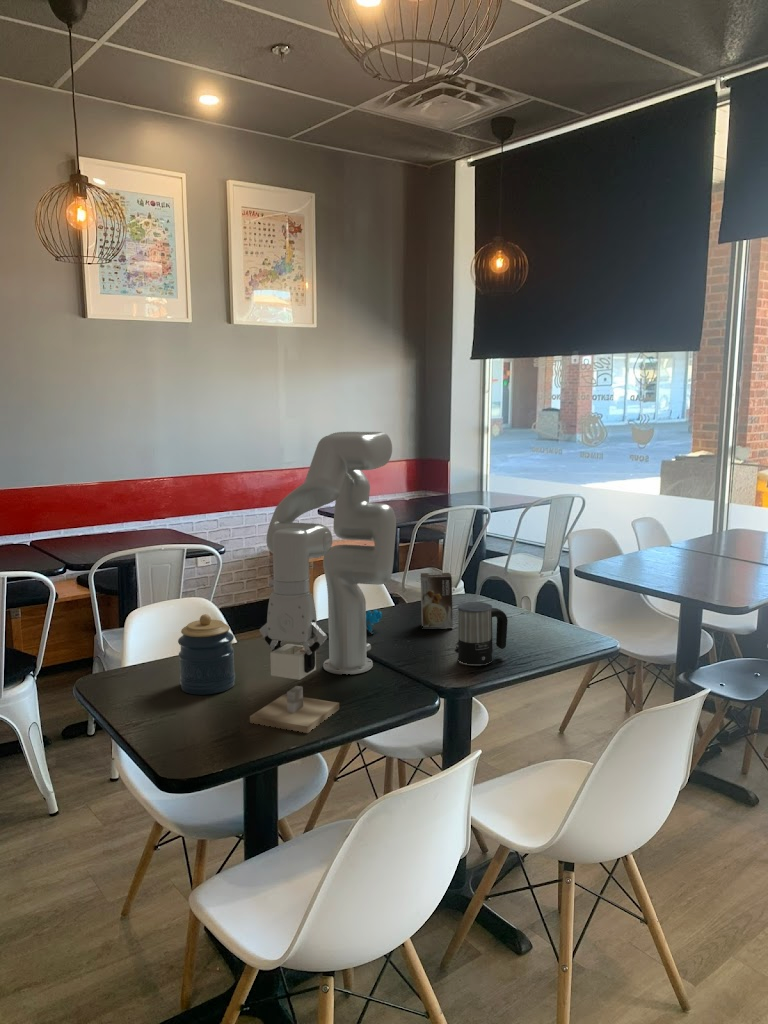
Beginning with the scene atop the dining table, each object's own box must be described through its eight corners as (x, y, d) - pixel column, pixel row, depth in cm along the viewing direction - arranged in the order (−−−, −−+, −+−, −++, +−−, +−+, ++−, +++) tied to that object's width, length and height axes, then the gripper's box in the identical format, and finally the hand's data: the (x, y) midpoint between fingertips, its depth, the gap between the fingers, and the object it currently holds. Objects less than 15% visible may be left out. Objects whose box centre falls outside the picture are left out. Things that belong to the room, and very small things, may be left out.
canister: (216, 698, 182) (213, 624, 180) (169, 692, 186) (165, 619, 184) (245, 680, 194) (242, 610, 192) (200, 674, 198) (197, 605, 196)
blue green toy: (377, 621, 239) (383, 604, 231) (384, 638, 236) (391, 621, 228) (343, 630, 235) (348, 613, 227) (350, 648, 232) (355, 631, 224)
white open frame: (288, 665, 174) (287, 642, 173) (316, 669, 171) (315, 645, 171) (271, 675, 168) (270, 651, 167) (299, 679, 165) (299, 655, 164)
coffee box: (450, 623, 241) (450, 572, 239) (452, 629, 235) (452, 576, 233) (420, 624, 241) (420, 572, 239) (422, 630, 235) (421, 577, 233)
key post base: (284, 700, 180) (283, 674, 179) (339, 709, 175) (338, 683, 174) (250, 723, 168) (248, 695, 167) (307, 733, 162) (306, 705, 161)
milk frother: (475, 670, 199) (475, 612, 197) (431, 655, 211) (431, 601, 209) (512, 658, 208) (513, 602, 206) (469, 644, 220) (469, 592, 218)
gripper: (247, 587, 167) (249, 668, 170) (319, 594, 160) (321, 679, 163) (266, 580, 174) (268, 658, 176) (336, 586, 167) (338, 668, 169)
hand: (293, 667), depth 169 cm, fingers closed on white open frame, 7 cm apart
